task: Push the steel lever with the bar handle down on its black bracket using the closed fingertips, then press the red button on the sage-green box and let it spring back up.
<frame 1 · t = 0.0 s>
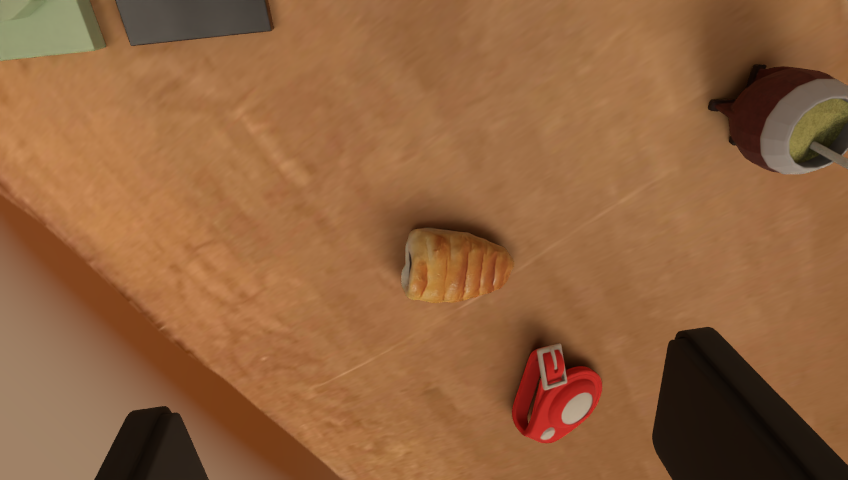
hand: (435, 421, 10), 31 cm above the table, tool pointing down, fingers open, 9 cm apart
pastry: (447, 255, 45), on the table
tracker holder: (554, 377, 53), on the table
mate gourd: (747, 107, 42), on the table
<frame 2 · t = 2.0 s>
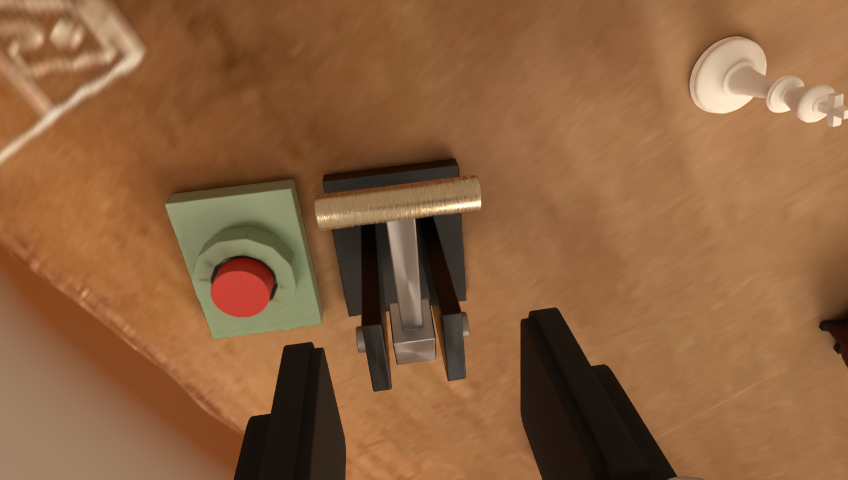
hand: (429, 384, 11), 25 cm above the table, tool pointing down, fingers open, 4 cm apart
bracket: (399, 237, 38), on the table
button box: (253, 256, 37), on the table
button: (242, 287, 34), point 4 cm above the table, slide at 0.1 cm
chess piece: (722, 74, 35), on the table
lever: (407, 283, 24), point 13 cm above the table, hinge at 26.0°
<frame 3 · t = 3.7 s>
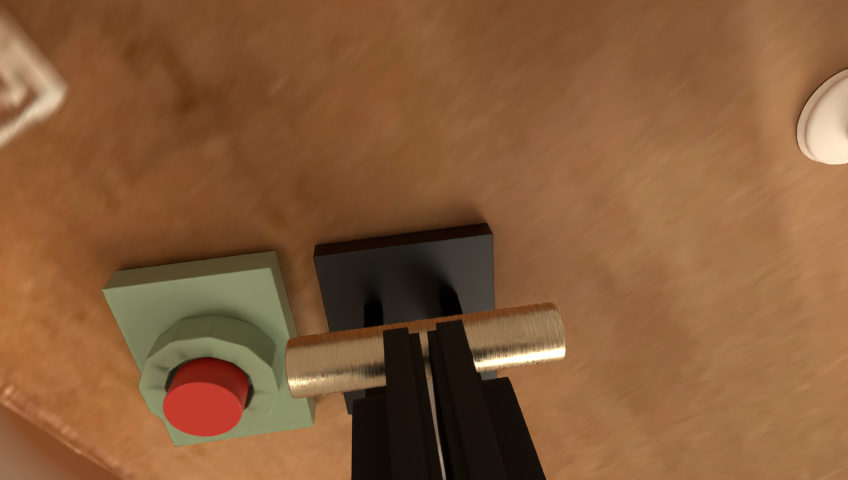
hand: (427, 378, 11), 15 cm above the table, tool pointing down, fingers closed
bracket: (412, 318, 30), on the table
button box: (225, 344, 29), on the table
button: (207, 397, 25), point 4 cm above the table, slide at 0.1 cm
chess piece: (840, 114, 27), on the table
lever: (434, 444, 16), point 13 cm above the table, hinge at 19.9°, touching gripper
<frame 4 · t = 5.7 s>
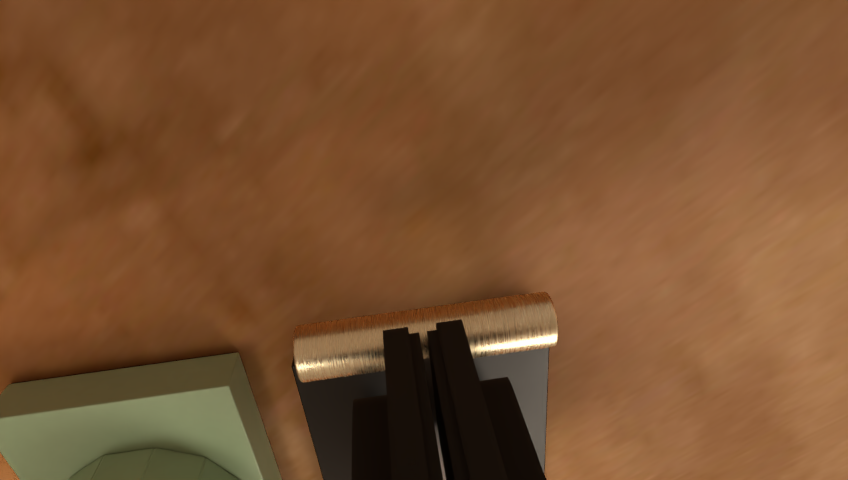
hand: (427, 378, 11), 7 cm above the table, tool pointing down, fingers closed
bracket: (431, 430, 22), on the table
button box: (174, 469, 21), on the table
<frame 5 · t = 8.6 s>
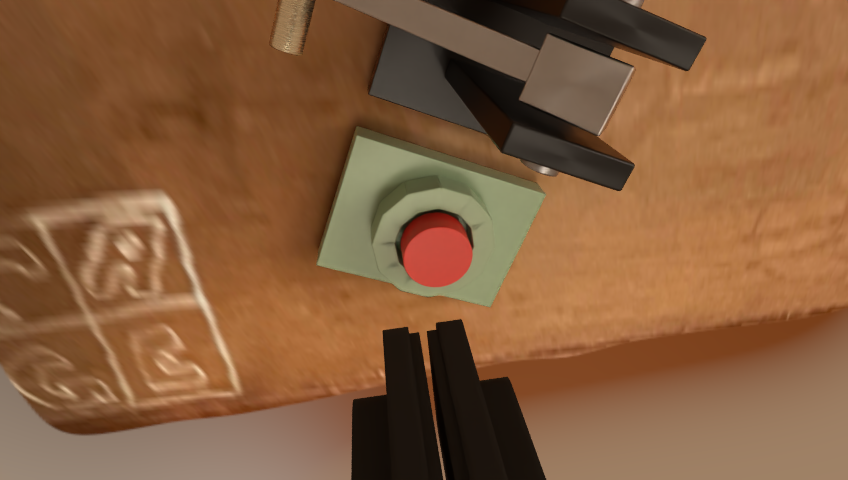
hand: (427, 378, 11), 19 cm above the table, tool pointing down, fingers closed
bracket: (497, 39, 26), on the table
button box: (426, 217, 31), on the table
button: (435, 249, 27), point 4 cm above the table, slide at 0.1 cm
lever: (440, 26, 18), point 8 cm above the table, hinge at -30.8°
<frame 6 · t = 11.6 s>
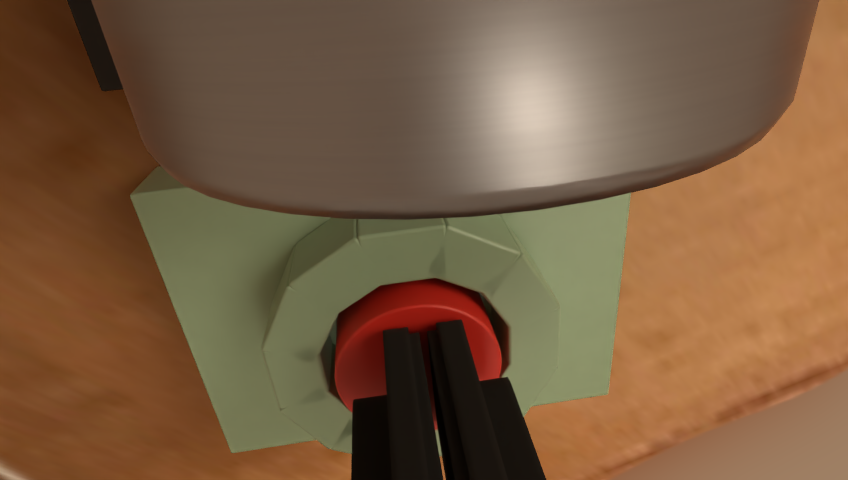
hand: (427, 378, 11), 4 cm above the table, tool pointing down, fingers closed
button box: (404, 276, 15), on the table
button: (415, 348, 12), point 3 cm above the table, slide at -0.8 cm, touching gripper
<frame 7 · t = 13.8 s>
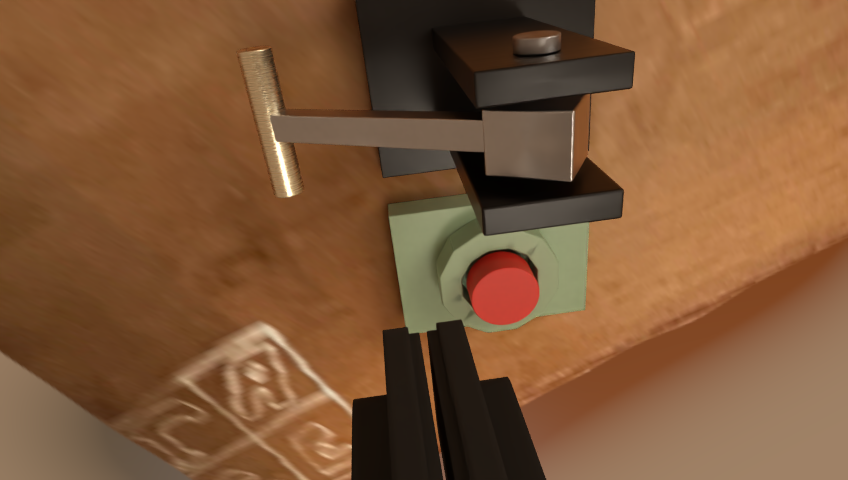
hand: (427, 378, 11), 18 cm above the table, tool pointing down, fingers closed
bracket: (477, 72, 26), on the table
button box: (487, 252, 31), on the table
button: (502, 288, 28), point 4 cm above the table, slide at 0.1 cm
lever: (397, 129, 19), point 8 cm above the table, hinge at -30.8°
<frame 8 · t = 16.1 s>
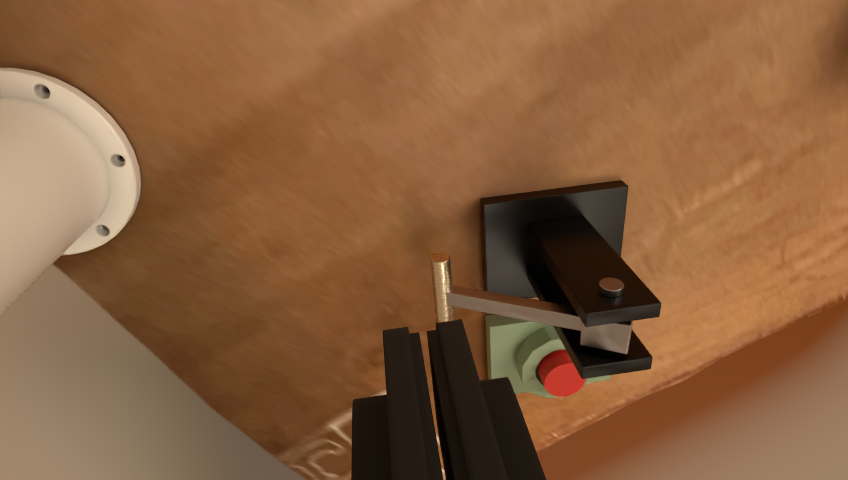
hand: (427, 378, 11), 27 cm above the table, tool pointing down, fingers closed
bracket: (549, 240, 42), on the table
button box: (546, 342, 47), on the table
button: (561, 373, 43), point 4 cm above the table, slide at 0.1 cm
lever: (525, 309, 34), point 8 cm above the table, hinge at -30.8°
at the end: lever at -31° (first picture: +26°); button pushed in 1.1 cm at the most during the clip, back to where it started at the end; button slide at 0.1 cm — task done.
